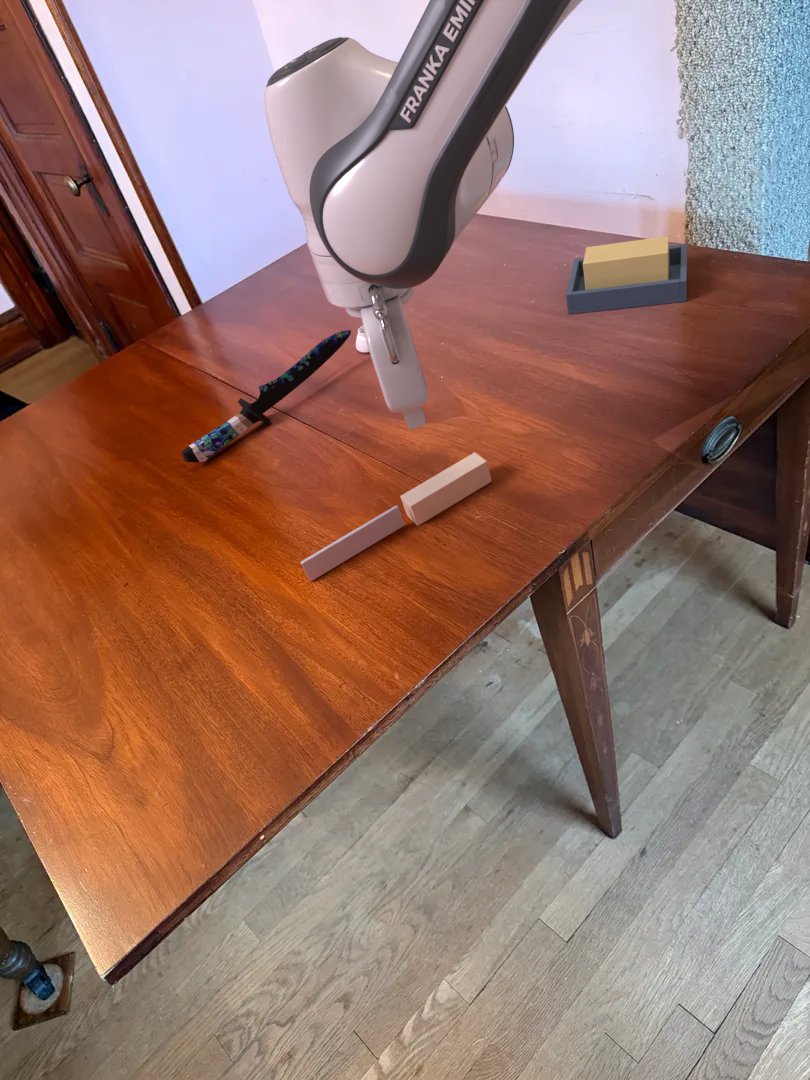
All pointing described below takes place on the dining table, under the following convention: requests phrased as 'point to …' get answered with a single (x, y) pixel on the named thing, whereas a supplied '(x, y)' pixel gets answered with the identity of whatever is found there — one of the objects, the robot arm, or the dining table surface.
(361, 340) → the lidless jar
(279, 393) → the knife
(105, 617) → the dining table surface
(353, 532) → the butter knife
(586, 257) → the butter
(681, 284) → the butter dish
